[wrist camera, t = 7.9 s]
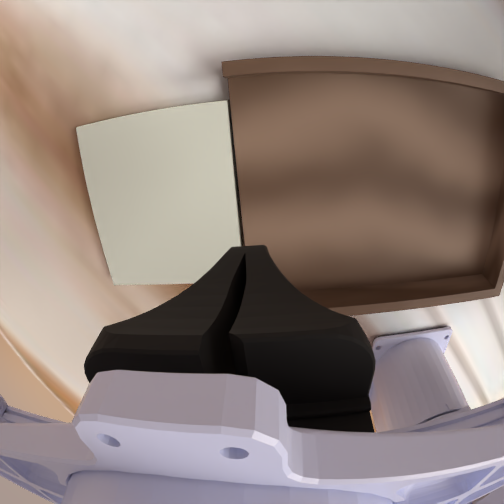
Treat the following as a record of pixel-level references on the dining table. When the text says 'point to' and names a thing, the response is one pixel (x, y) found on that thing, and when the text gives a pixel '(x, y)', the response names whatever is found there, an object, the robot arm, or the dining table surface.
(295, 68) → the case
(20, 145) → the dining table surface
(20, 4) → the dining table surface
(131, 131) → the cover plate
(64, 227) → the dining table surface
